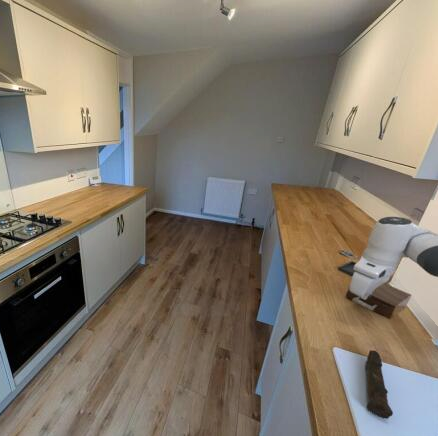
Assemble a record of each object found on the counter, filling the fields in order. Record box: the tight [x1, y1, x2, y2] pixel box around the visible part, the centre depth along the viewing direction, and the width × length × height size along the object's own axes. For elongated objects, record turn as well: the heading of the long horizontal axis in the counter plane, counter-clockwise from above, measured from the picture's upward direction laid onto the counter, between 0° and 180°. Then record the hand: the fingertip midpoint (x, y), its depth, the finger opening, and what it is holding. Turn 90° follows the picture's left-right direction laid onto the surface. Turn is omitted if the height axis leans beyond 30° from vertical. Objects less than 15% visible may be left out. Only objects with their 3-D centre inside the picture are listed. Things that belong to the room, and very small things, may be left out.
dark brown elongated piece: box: [364, 349, 394, 420], centre depth 61 cm, size 19×4×5 cm, turn 140°
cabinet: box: [345, 283, 412, 320], centre depth 91 cm, size 14×14×6 cm
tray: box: [337, 260, 392, 284], centre depth 109 cm, size 15×12×2 cm
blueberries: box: [340, 249, 359, 259], centre depth 126 cm, size 7×8×2 cm
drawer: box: [346, 288, 393, 318], centre depth 90 cm, size 17×12×4 cm
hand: (364, 297), depth 84 cm, fingers closed
